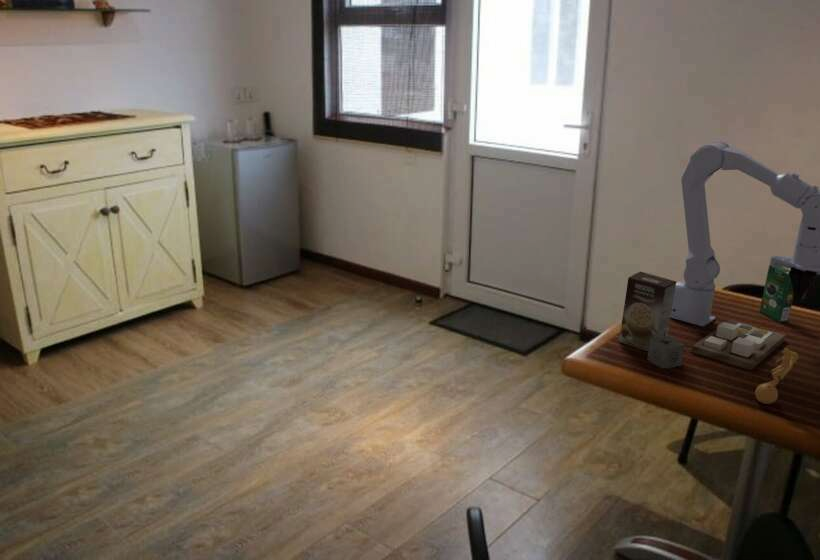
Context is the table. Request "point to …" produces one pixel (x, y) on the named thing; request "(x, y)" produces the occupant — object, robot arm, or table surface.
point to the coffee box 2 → (777, 294)
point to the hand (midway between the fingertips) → (797, 301)
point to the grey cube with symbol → (665, 352)
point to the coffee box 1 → (646, 309)
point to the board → (744, 330)
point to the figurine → (776, 378)
